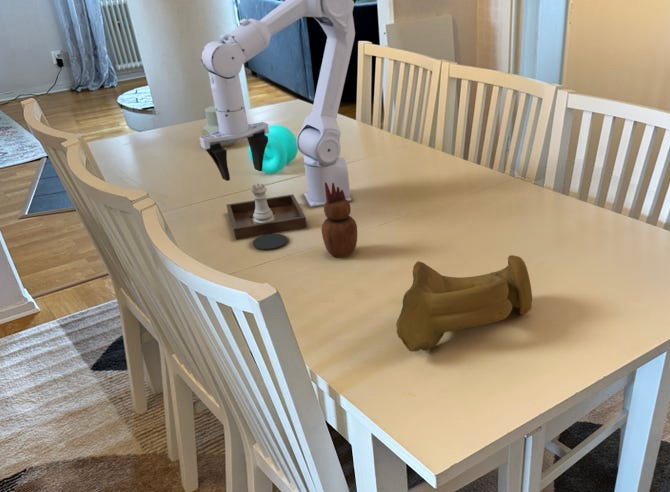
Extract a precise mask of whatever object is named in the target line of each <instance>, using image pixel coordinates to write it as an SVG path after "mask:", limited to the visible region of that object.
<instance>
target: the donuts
mask: <svg viewBox="0 0 670 492" xmlns="http://www.w3.org/2000/svg"><path fill="white" fill-rule="evenodd" d="M268 127H269V133H267V134H265V135H266V136H268V143H267V145H266V148H265V152H264V156H263V165H262V171H261V172H262V173H265V174H267V175H268V174H269V175H272V174H273V175H274V174H277V173H279V172H281V171H282V170H283V169H284V168H285V167H286V164H289V163H291V162H293V161H294V159H296V157H297V154H298V151H299V149H298V147H297V144H296V139H297V137H296V136H295V134H293V131H291V130H290V129H289V128H287V127H285V126H284V125H280V124H272V125H268ZM248 157H249V159H250V162H251V163H252V164H253V159H252V153H251V149H250V146H249V145H248Z"/></svg>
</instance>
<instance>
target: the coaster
mask: <svg viewBox="0 0 670 492" xmlns="http://www.w3.org/2000/svg"><path fill="white" fill-rule="evenodd" d="M287 244H288V237H287V236H285V235H284V234H281V233H273V234H266V235H261V236H256V238H254V239H253V241H252V246H253V247H254V248H255V249H256V250H259V251H274V250H277V249H280V248H283V247H284V246H286V245H287Z"/></svg>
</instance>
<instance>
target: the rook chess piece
mask: <svg viewBox="0 0 670 492" xmlns="http://www.w3.org/2000/svg"><path fill="white" fill-rule="evenodd" d="M251 187H252V188H251V190H250V192H251V193H252V194H253V200H255V212H254V214H253V222H254V224H259V223H265V222H271V221H274V220H275V216H274V214H273V212H272V211H271V210H270V208H269V207H268V204H267V200H266V198H268V196H267V194H266V192H267V190H268V189H267V188H266V186H265V184H263V183H259V182H258V183H256V184H253V185H252V186H251Z"/></svg>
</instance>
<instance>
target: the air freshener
mask: <svg viewBox="0 0 670 492" xmlns="http://www.w3.org/2000/svg"><path fill="white" fill-rule="evenodd" d="M204 114H205V119H206V124H205V125H204V126H203V127H202V128H201V130H200V133H201V137H204V136H207V135H209V134H212V133H214V132H217V131H219V130H220V129H219V124H218V119H217V114H216V109H215V105H211V106H207V107H206V108H205V109H204ZM237 141H238V140H236V141H232V142H228V143H224V144H221V146H222V147H223V148H226V147H229V146H232V145H234V144H236V143H237Z"/></svg>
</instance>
